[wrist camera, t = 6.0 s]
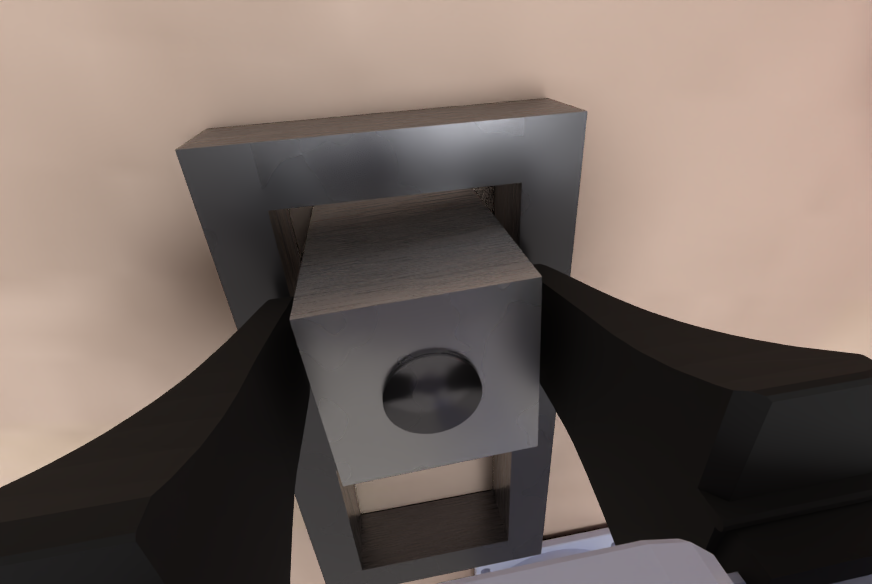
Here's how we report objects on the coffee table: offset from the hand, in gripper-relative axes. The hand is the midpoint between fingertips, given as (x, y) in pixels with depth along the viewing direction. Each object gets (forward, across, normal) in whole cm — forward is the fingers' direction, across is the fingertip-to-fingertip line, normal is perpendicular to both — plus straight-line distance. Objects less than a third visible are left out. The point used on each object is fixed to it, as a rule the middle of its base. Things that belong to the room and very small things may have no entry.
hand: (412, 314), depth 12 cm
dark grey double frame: (+3, 0, +4) cm, 5 cm away
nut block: (+3, 0, 0) cm, 3 cm away
